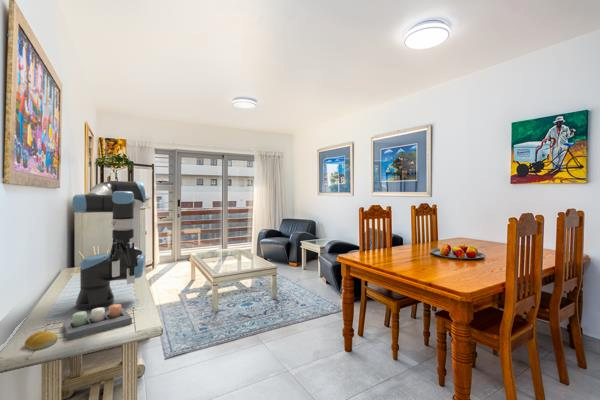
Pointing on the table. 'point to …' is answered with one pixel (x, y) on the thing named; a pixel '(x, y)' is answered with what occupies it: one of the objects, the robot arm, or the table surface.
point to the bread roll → (40, 340)
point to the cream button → (97, 314)
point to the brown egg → (114, 310)
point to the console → (96, 325)
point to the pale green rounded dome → (79, 318)
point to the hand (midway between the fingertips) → (123, 279)
